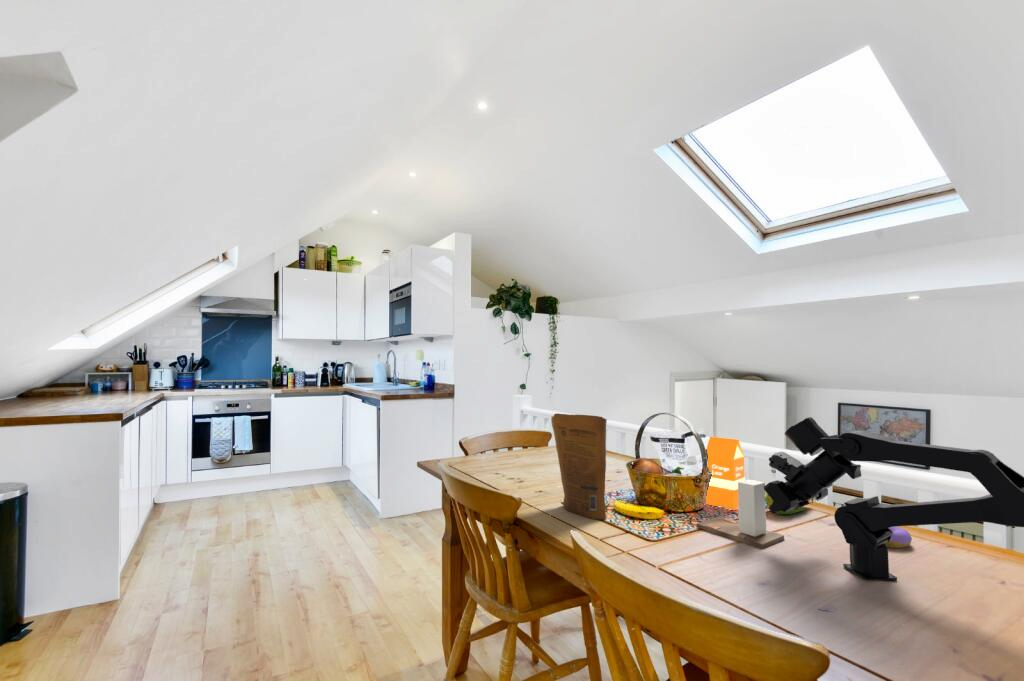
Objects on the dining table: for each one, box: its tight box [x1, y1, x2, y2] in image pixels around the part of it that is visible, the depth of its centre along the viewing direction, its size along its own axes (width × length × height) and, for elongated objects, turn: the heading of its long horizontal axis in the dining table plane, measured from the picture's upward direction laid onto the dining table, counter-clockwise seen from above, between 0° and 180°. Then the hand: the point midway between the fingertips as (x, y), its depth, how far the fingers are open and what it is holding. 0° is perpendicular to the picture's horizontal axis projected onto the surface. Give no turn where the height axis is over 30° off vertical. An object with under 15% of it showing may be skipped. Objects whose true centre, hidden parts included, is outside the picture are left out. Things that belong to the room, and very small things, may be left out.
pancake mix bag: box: [550, 413, 608, 520], centre depth 135 cm, size 7×19×28 cm, turn 39°
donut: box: [884, 526, 913, 549], centre depth 113 cm, size 10×9×5 cm
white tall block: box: [737, 479, 767, 537], centre depth 116 cm, size 4×5×12 cm
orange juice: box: [706, 436, 746, 510], centre depth 142 cm, size 8×9×20 cm
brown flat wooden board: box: [696, 516, 785, 550], centre depth 118 cm, size 17×10×1 cm, turn 34°
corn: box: [765, 493, 812, 516], centre depth 137 cm, size 7×8×20 cm
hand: (771, 510), depth 112 cm, fingers closed
